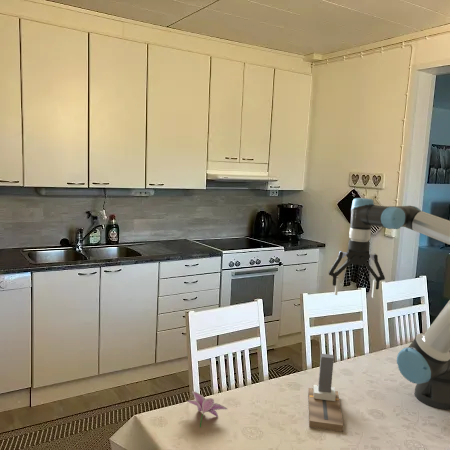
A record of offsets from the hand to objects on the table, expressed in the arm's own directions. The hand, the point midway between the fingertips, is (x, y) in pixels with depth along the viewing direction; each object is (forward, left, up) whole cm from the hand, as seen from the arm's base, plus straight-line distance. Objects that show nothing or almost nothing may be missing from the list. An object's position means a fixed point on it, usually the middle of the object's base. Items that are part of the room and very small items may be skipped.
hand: (354, 295), depth 174 cm
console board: (+10, +29, -32) cm, 44 cm away
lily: (+46, +44, -32) cm, 72 cm away
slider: (+10, +23, -29) cm, 39 cm away
